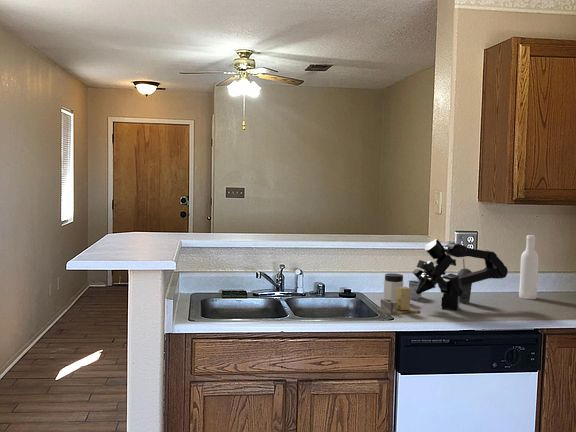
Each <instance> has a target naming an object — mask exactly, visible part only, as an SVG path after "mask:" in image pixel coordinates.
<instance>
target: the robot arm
mask: <svg viewBox="0 0 576 432" xmlns="http://www.w3.org/2000/svg"><path fill="white" fill-rule="evenodd" d="M424 251H426V252H427V253H428V255H429V256H430V257H431V258H432V259H433V260H435V261H431V260H428V261H424V260H421V259H419V260H418V262H417V265H416V267H417V268H416V269H414V270H413V271H412V274H413V275H414V276H415V278H417V279H419V280H420V283H419V286H418V288H417V291H416V293H417V294H420V293H421V294H423V293H424V292H426V291H429V290H432V289H435V288H436V285H437V286H438V288H439V290H440V292H441V294H442V297H441V302H440V303H441V305H440V306H441V309H442V310H449V311H458V310H459V309H460V305H459V296H461V295H462V293H463V291H462V290H461V289H460V288H461V287H462V286H464V285H467V284H471V283H472V284H474V283H477V282H481V281H482V282H483V281H485V280H488V279H495V280H496V279H498V280H499V279H505V278H507V276H508V273H509V272H508V271H509V270H508V268H507V266H506V265H505V264H504V262H503V261H502V260H501V259H500V258H499V256H498V255H497V254H496V253H495V252H494V251H493V250H492V251H491V250H484V249H483V250H482V249H476V248H470V247H467V246H466V245H463V244H460V243H455V242H448V243H447V244H445V245H442V243H441V241H440V240H439V239H437V238H435V239H434V240H432V241H430V242H427V244H426V245H425V246H424ZM453 257H455V258H465V257H467V258H468V257H470V258H477V259H482V260H484V264H485V267H484V269H481V270H476V271H473V272H472V271H471V272H472V273H468V274H465V275H461V276H458V275H457V274H456V273H455V274H454V273H448V274H447V273H446V271H447V269H448V268H449V267H450V266H453V267H456V266H457V262H456V261H457V260H456V259H455V258H453Z"/></svg>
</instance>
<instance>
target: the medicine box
mask: <svg viewBox="0 0 576 432" xmlns="http://www.w3.org/2000/svg"><path fill="white" fill-rule="evenodd" d="M419 283H420V280H419V279H418V278H417V277H415V278H411V279H410V280H408V288H411V291H410V300H416V301H418V300H420V298H421V297H422V293H420V294H417V293H416V291H417V288H418V286H419Z"/></svg>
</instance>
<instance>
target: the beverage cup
mask: <svg viewBox="0 0 576 432" xmlns="http://www.w3.org/2000/svg"><path fill="white" fill-rule="evenodd" d="M462 264H463V265H462V266H463V268H462V269H460V270H459V271H458V272H457V274H456V275H458V276H461V275H465V274H468V273H472V270H470V269H469V268H465V267H466V266H465V264H466V263H465V258H462ZM472 286H473V283H471V284H467V285H464V286H462V287H461V288H460V289H461V290H462V291H463V293H462V295H461V296H459V303H460V304H470V299H471V292H472Z"/></svg>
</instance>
